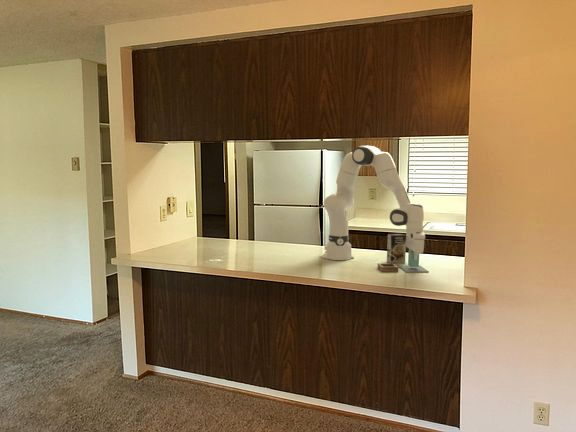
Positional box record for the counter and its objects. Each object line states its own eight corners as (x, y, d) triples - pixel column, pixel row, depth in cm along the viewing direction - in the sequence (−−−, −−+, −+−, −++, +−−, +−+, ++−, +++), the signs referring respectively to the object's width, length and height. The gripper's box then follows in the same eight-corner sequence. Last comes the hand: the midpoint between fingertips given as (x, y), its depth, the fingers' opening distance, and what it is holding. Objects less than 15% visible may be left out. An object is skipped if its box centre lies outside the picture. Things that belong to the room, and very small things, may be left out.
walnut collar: (377, 268, 269) (377, 263, 268) (393, 267, 269) (393, 263, 269) (381, 271, 260) (381, 267, 260) (398, 271, 260) (398, 267, 260)
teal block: (408, 265, 267) (408, 250, 266) (416, 265, 267) (416, 250, 266) (410, 266, 263) (411, 252, 262) (418, 266, 263) (419, 252, 262)
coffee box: (390, 263, 281) (391, 235, 279) (386, 260, 287) (387, 233, 285) (405, 262, 283) (406, 235, 281) (401, 260, 289) (401, 233, 287)
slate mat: (398, 266, 272) (398, 265, 272) (420, 266, 273) (420, 265, 272) (406, 272, 258) (406, 271, 258) (428, 272, 259) (428, 271, 259)
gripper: (403, 230, 273) (402, 254, 275) (414, 236, 253) (413, 262, 254) (414, 230, 273) (413, 254, 275) (426, 236, 253) (425, 262, 255)
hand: (413, 258), depth 265 cm, fingers closed on teal block, 4 cm apart
